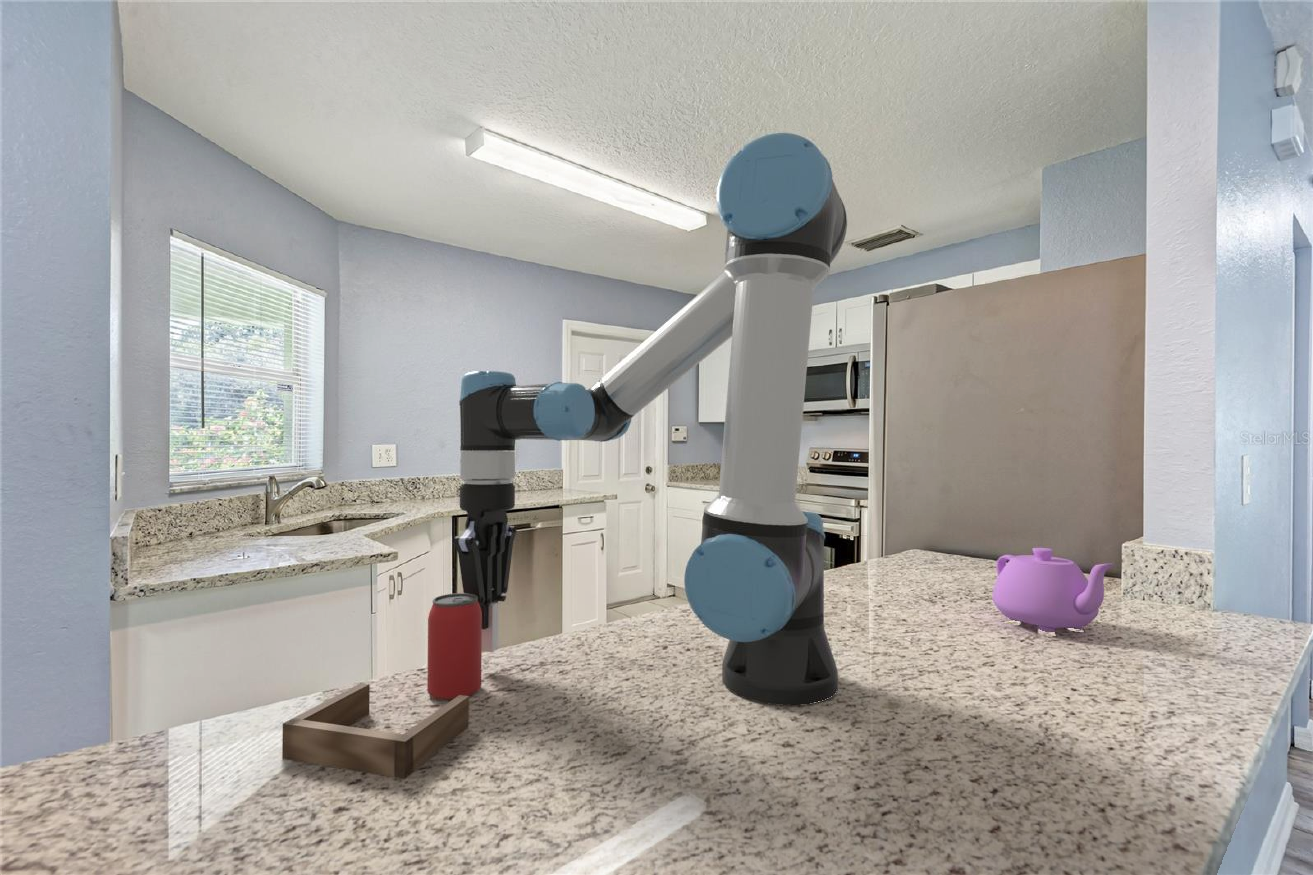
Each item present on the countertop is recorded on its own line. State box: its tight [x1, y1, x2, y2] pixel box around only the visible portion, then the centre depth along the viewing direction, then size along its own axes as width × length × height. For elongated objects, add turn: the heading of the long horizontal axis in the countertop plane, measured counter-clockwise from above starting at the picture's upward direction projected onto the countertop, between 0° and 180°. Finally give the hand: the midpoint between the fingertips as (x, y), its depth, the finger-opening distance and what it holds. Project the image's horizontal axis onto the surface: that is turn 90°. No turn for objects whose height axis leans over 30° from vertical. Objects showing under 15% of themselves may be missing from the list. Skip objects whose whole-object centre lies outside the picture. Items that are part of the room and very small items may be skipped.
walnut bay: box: [281, 682, 470, 780], centre depth 64 cm, size 14×11×4 cm
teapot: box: [992, 547, 1116, 633], centre depth 105 cm, size 22×16×14 cm
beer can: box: [426, 592, 483, 702], centre depth 77 cm, size 7×7×12 cm
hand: (486, 649), depth 85 cm, fingers closed
